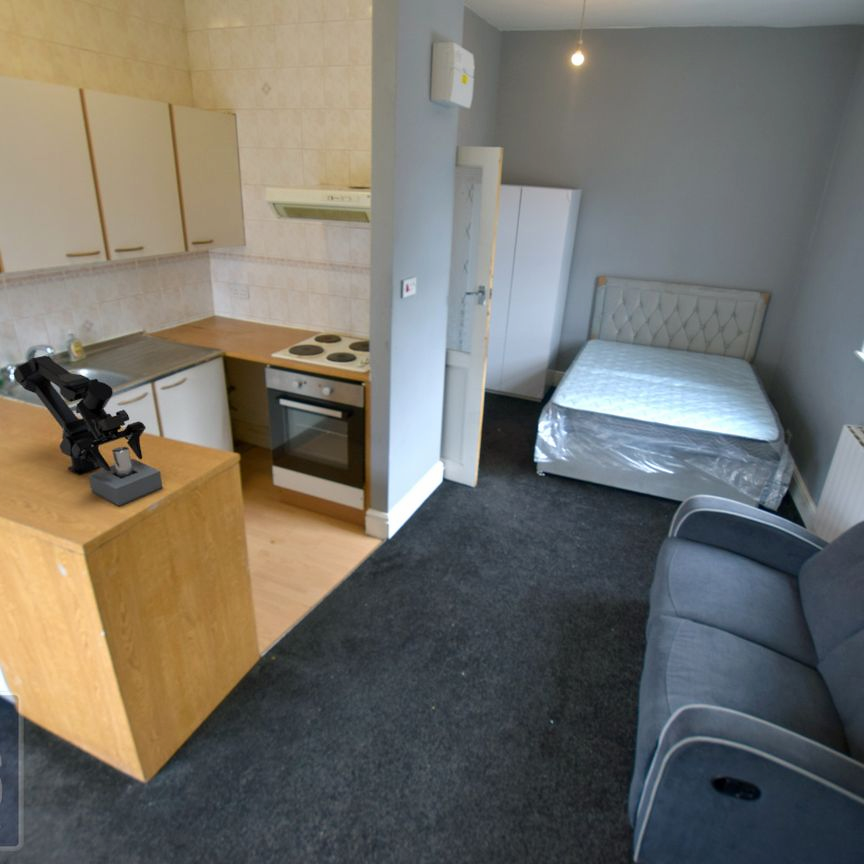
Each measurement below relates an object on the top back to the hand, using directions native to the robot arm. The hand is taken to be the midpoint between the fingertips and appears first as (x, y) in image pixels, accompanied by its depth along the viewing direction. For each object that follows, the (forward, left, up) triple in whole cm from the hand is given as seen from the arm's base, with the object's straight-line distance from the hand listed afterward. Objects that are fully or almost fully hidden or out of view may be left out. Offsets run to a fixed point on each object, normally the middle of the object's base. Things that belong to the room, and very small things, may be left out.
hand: (125, 464), depth 159 cm
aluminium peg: (-1, 0, -8) cm, 8 cm away
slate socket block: (-1, 0, -9) cm, 9 cm away
